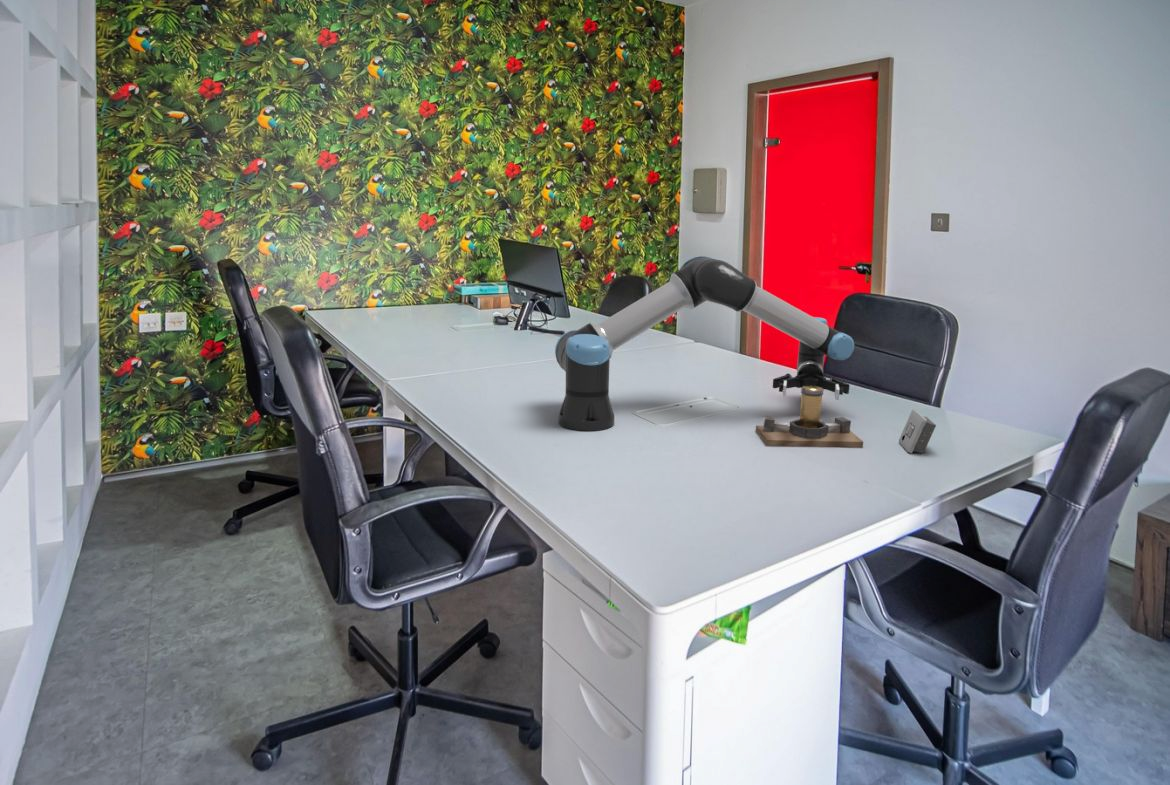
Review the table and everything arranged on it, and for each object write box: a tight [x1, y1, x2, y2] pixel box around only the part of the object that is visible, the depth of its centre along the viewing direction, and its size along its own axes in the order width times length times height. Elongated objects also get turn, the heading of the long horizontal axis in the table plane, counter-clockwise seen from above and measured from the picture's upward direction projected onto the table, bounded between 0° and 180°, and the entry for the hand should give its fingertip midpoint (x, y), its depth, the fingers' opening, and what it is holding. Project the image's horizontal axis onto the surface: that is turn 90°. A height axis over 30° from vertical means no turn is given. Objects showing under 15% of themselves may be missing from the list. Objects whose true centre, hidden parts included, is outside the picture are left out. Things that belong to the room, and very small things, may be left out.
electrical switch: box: [898, 409, 937, 454], centre depth 192 cm, size 9×5×9 cm, turn 173°
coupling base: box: [755, 415, 864, 449], centre depth 199 cm, size 24×13×5 cm, turn 90°
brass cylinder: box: [798, 386, 825, 428], centre depth 198 cm, size 5×5×12 cm
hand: (810, 392), depth 206 cm, fingers open, 13 cm apart
